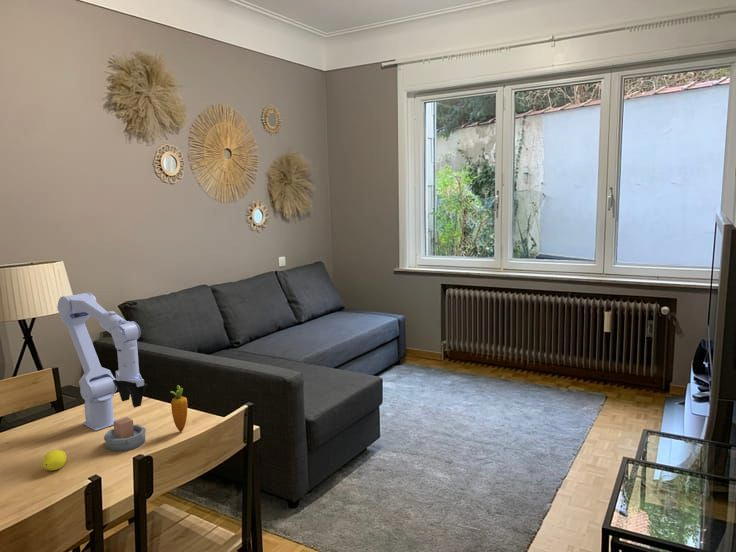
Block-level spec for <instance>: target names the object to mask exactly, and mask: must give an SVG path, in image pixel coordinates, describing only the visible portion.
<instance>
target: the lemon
mask: <svg viewBox="0 0 736 552" xmlns="http://www.w3.org/2000/svg"><path fill="white" fill-rule="evenodd" d="M66 462H67V455H66V453H65V451H63V450H60V449H53V450H51V451H49V452H47V453H46V454H45V455H44V457H43V459H42V465H43V467H44V469H45V470H47V471H56V470H60V469H62V467H64V466H65V464H66Z"/></svg>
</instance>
